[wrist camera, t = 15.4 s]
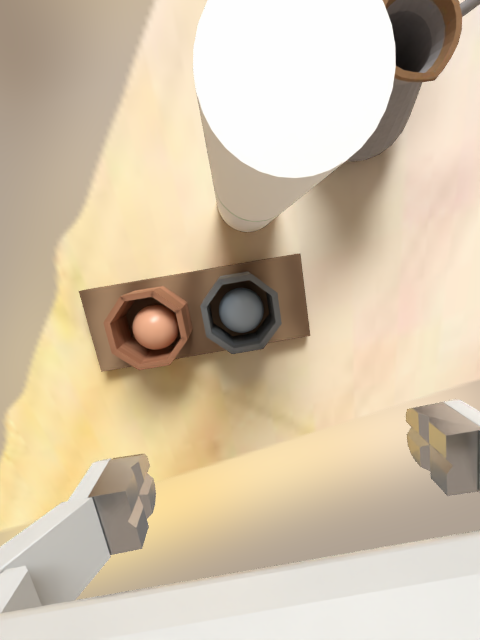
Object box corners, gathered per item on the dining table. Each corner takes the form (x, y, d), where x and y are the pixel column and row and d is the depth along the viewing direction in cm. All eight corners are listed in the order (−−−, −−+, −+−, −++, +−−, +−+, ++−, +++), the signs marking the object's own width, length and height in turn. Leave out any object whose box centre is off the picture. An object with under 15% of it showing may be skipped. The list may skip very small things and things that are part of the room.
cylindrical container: (271, 160, 34) (382, -81, 10) (283, 224, 36) (405, 154, 11) (210, 174, 34) (168, -31, 10) (224, 238, 36) (219, 197, 11)
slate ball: (257, 282, 36) (263, 285, 31) (263, 323, 37) (270, 332, 32) (215, 290, 35) (214, 294, 31) (222, 330, 36) (223, 341, 31)
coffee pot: (323, 187, 35) (392, 138, 20) (277, 89, 33) (318, -46, 18) (492, 89, 34) (696, -40, 19) (456, -21, 31) (657, -264, 17)
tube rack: (297, 253, 36) (312, 253, 30) (306, 332, 39) (322, 347, 32) (84, 289, 36) (54, 296, 30) (106, 367, 38) (82, 389, 32)
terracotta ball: (173, 297, 36) (174, 305, 31) (182, 336, 37) (184, 350, 32) (130, 305, 35) (124, 315, 30) (140, 345, 36) (136, 361, 31)
